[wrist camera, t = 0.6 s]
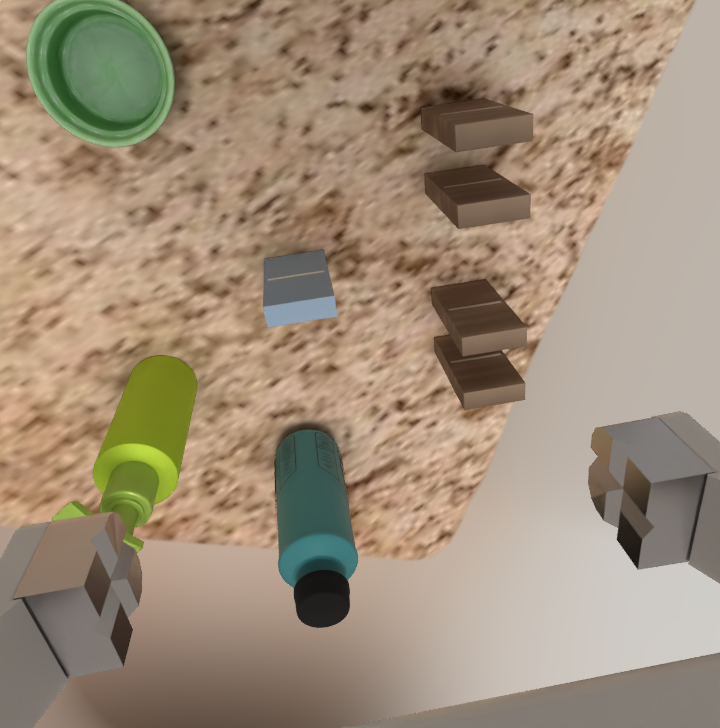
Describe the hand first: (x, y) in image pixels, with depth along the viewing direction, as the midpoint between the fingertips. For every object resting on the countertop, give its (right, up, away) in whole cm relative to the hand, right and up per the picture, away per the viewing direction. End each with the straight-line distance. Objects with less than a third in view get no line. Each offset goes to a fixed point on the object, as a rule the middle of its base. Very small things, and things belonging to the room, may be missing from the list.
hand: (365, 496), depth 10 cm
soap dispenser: (-18, +1, +44) cm, 48 cm away
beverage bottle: (-5, -6, +50) cm, 50 cm away
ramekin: (-17, +23, +32) cm, 43 cm away
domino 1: (-6, +11, +40) cm, 42 cm away
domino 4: (+9, +9, +43) cm, 45 cm away
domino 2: (+7, +22, +36) cm, 43 cm away
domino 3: (+8, +17, +39) cm, 43 cm away
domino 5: (+9, +4, +46) cm, 47 cm away
